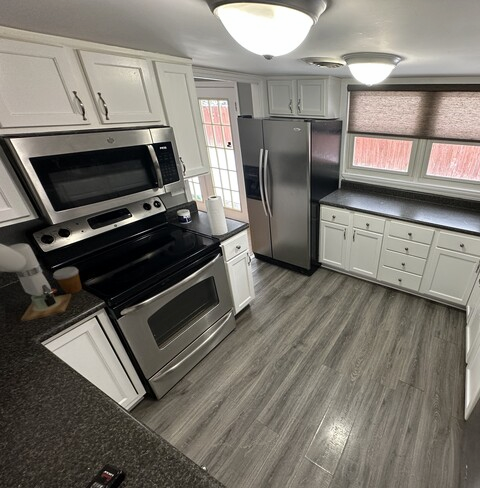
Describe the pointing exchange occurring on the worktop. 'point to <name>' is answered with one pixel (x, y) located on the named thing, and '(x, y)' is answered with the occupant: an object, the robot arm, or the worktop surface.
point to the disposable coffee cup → (68, 279)
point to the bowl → (43, 302)
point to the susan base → (58, 309)
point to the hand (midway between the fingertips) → (46, 302)
